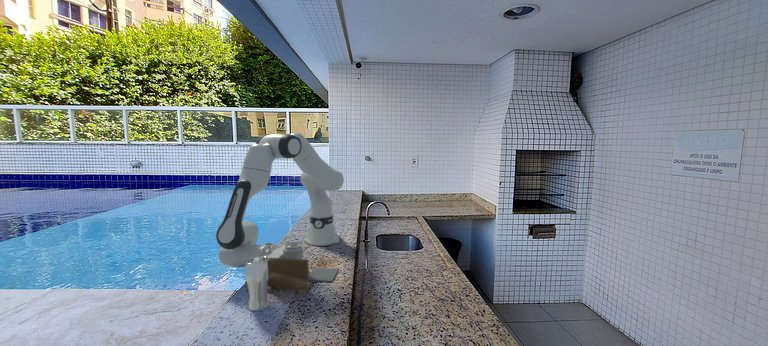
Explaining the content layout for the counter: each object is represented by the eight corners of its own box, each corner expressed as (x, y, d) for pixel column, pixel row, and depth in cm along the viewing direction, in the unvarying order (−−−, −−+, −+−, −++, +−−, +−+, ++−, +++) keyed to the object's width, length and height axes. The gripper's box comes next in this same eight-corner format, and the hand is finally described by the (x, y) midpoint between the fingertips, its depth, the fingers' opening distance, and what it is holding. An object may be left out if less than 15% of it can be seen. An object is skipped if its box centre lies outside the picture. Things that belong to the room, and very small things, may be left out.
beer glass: (247, 313, 93) (246, 265, 92) (245, 303, 99) (244, 257, 98) (271, 308, 96) (271, 262, 95) (268, 298, 102) (268, 254, 101)
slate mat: (314, 269, 127) (314, 268, 127) (338, 270, 127) (338, 269, 127) (305, 280, 116) (305, 279, 116) (332, 282, 116) (332, 280, 116)
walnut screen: (272, 284, 113) (272, 255, 112) (310, 286, 112) (310, 257, 111) (265, 292, 107) (264, 261, 106) (304, 294, 106) (304, 263, 105)
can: (305, 270, 126) (305, 242, 125) (298, 278, 118) (298, 248, 117) (287, 269, 126) (287, 241, 125) (279, 277, 119) (279, 247, 118)
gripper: (247, 258, 112) (284, 259, 111) (271, 241, 132) (303, 242, 132) (248, 275, 113) (284, 276, 112) (272, 255, 133) (303, 256, 132)
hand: (295, 258), depth 122 cm, fingers closed on can, 7 cm apart
